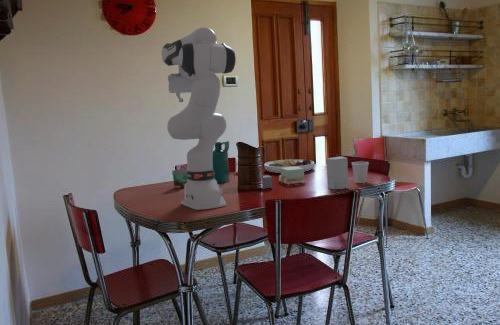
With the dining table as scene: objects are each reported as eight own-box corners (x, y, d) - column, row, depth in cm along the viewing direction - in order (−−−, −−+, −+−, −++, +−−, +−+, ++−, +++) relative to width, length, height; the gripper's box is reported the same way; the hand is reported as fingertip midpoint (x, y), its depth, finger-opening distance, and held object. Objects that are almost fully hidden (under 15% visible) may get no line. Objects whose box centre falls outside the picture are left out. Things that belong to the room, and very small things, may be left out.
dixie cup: (371, 183, 215) (371, 163, 213) (354, 184, 214) (354, 164, 213) (365, 180, 223) (365, 161, 221) (349, 181, 222) (349, 162, 221)
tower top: (304, 176, 224) (304, 168, 223) (288, 178, 221) (288, 170, 220) (296, 173, 232) (296, 166, 232) (280, 175, 229) (280, 168, 228)
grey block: (272, 188, 215) (271, 176, 214) (263, 189, 213) (262, 177, 212) (268, 187, 220) (267, 175, 219) (259, 188, 218) (258, 176, 217)
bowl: (255, 174, 261) (254, 160, 260) (280, 166, 286) (280, 154, 285) (299, 176, 244) (299, 162, 243) (322, 168, 269) (322, 155, 268)
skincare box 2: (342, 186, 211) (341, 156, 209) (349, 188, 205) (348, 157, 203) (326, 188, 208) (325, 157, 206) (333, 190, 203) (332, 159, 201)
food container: (184, 189, 223) (183, 170, 222) (173, 189, 224) (172, 170, 223) (192, 185, 235) (191, 166, 234) (181, 185, 236) (180, 166, 235)
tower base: (305, 183, 224) (304, 176, 224) (287, 186, 221) (287, 178, 220) (296, 181, 233) (295, 173, 233) (279, 183, 230) (278, 175, 229)
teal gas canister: (210, 182, 238) (207, 142, 235) (216, 180, 246) (214, 141, 243) (226, 183, 235) (223, 142, 232) (232, 180, 242) (230, 140, 239)
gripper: (169, 73, 206) (172, 102, 208) (209, 72, 217) (211, 100, 218) (165, 74, 212) (167, 103, 214) (204, 73, 222) (206, 101, 224)
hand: (190, 101), depth 216 cm, fingers open, 8 cm apart
